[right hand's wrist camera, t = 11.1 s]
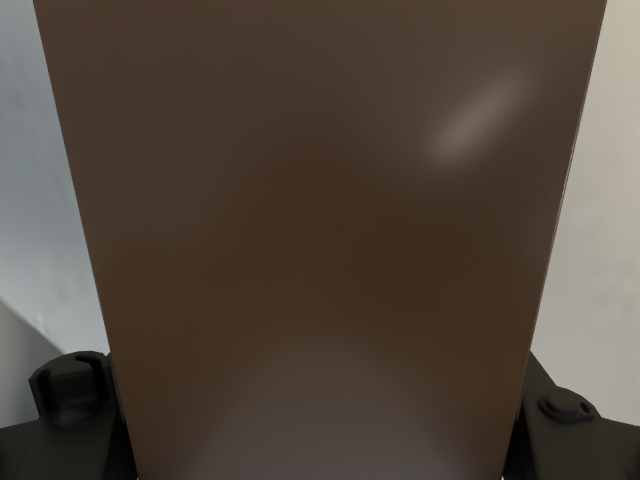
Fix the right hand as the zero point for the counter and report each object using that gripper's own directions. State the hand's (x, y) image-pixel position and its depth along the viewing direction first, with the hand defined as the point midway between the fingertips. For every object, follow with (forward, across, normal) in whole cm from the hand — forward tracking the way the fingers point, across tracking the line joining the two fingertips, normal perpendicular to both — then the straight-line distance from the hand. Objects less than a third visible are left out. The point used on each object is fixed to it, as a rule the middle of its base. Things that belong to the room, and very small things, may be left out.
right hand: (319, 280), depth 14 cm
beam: (0, 0, -18) cm, 19 cm away
